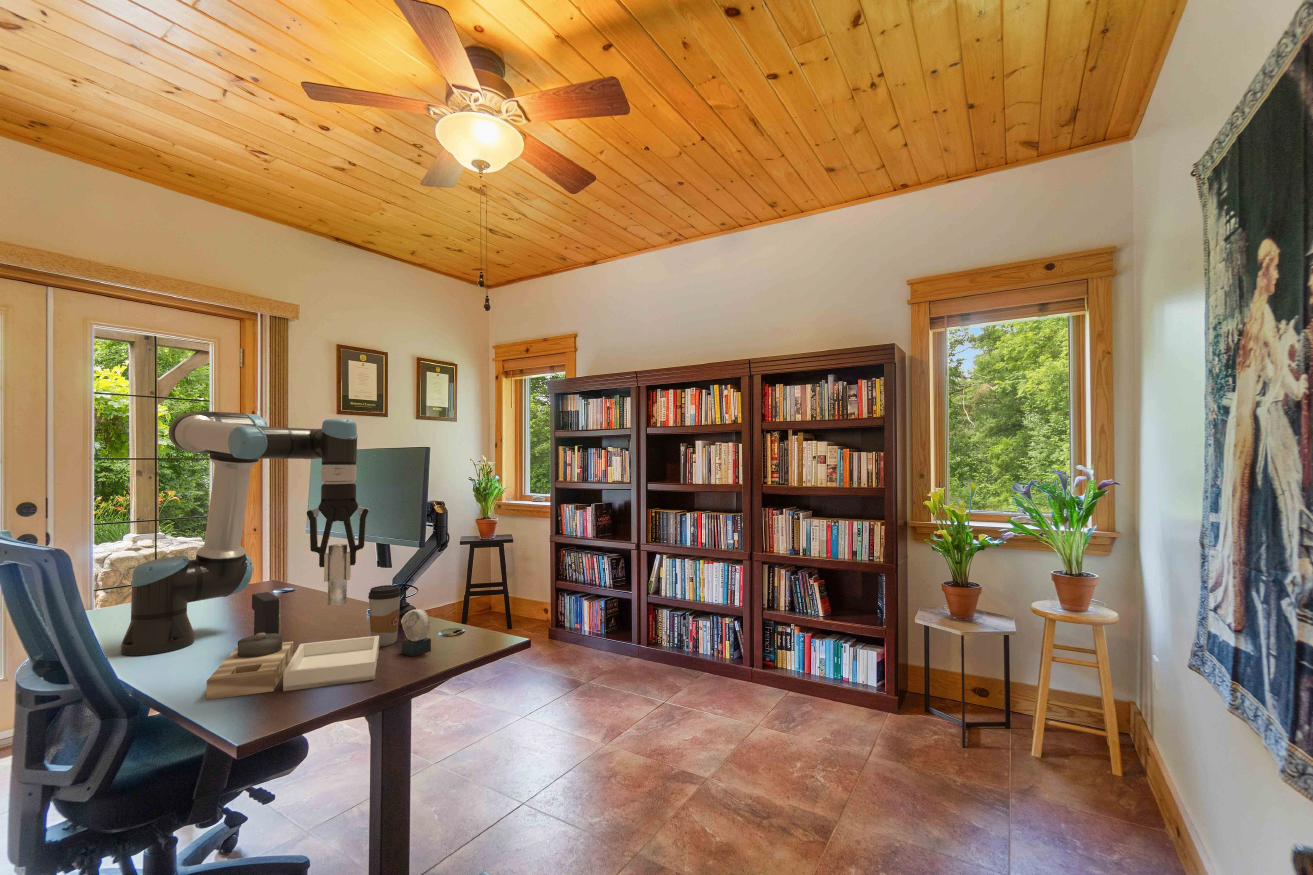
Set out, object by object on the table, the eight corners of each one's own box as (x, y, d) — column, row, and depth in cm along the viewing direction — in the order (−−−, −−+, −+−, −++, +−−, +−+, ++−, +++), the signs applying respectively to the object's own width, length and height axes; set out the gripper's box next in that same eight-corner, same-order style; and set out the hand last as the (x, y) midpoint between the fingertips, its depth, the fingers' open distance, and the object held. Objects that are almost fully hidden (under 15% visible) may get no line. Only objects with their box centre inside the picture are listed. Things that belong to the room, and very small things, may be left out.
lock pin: (328, 602, 144) (329, 544, 145) (347, 600, 146) (348, 543, 146) (326, 606, 140) (327, 546, 141) (345, 604, 142) (346, 545, 142)
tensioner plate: (236, 663, 146) (237, 630, 147) (293, 657, 151) (293, 624, 151) (206, 699, 124) (207, 660, 125) (273, 691, 129) (274, 652, 129)
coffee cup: (387, 648, 158) (388, 591, 159) (360, 646, 160) (361, 590, 160) (407, 639, 166) (407, 585, 167) (380, 637, 168) (381, 584, 168)
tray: (300, 659, 149) (300, 643, 149) (379, 650, 156) (379, 635, 156) (283, 691, 129) (283, 672, 129) (374, 679, 136) (374, 661, 136)
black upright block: (281, 656, 152) (283, 597, 152) (262, 660, 149) (263, 600, 149) (269, 647, 159) (270, 591, 160) (250, 651, 156) (251, 593, 157)
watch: (415, 646, 159) (415, 605, 160) (435, 651, 155) (435, 609, 156) (396, 652, 155) (397, 610, 155) (416, 657, 150) (417, 614, 151)
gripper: (295, 484, 137) (293, 585, 136) (376, 482, 144) (375, 579, 143) (301, 483, 144) (299, 579, 143) (378, 481, 151) (377, 574, 150)
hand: (337, 579), depth 143 cm, fingers closed on lock pin, 4 cm apart
